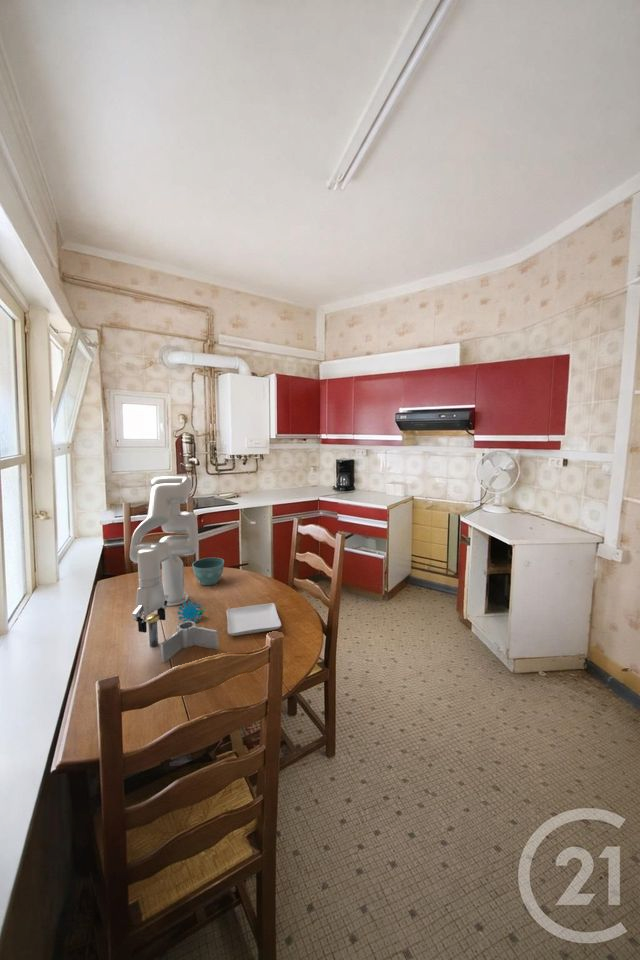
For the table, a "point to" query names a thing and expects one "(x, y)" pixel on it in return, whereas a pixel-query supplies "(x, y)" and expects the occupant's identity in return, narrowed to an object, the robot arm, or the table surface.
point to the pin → (153, 629)
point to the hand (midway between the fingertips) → (152, 625)
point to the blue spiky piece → (190, 612)
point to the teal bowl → (208, 570)
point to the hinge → (188, 639)
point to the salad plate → (252, 619)
